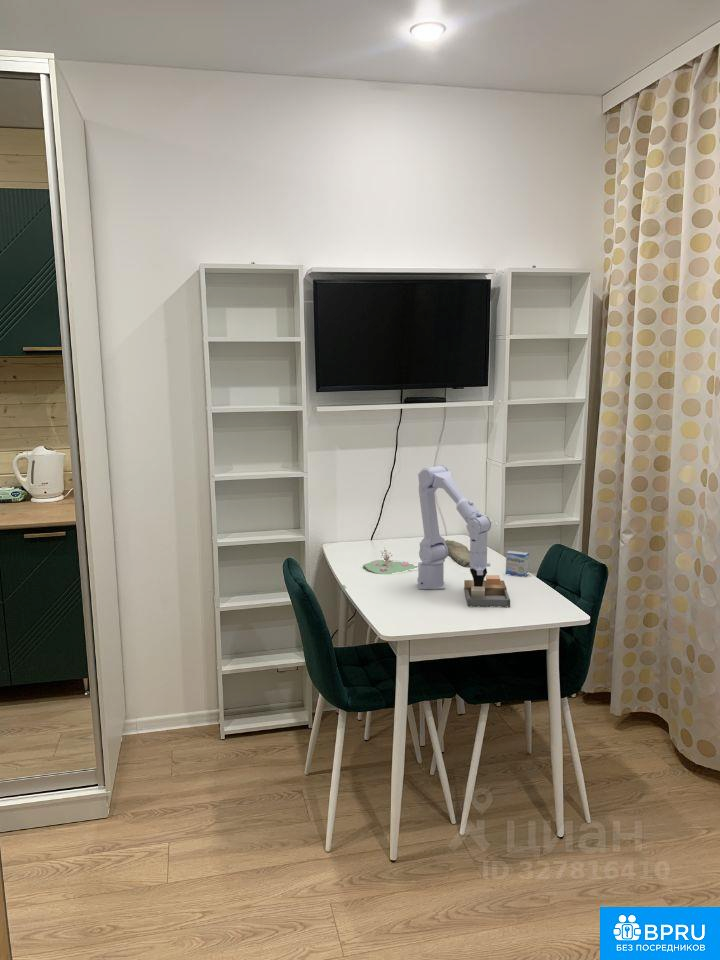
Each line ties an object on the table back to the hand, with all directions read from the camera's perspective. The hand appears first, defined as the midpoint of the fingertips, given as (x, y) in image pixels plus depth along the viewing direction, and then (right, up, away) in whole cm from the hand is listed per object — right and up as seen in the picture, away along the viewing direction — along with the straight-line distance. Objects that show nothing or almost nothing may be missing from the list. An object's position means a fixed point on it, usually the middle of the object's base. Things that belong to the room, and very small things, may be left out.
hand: (478, 589), depth 256 cm
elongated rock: (+1, +5, +56) cm, 56 cm away
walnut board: (+4, -2, +8) cm, 9 cm away
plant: (-27, +2, +42) cm, 50 cm away
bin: (+3, -4, -2) cm, 5 cm away
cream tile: (0, 0, -1) cm, 1 cm away
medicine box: (+19, +1, +29) cm, 35 cm away
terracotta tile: (+7, +1, +9) cm, 12 cm away
